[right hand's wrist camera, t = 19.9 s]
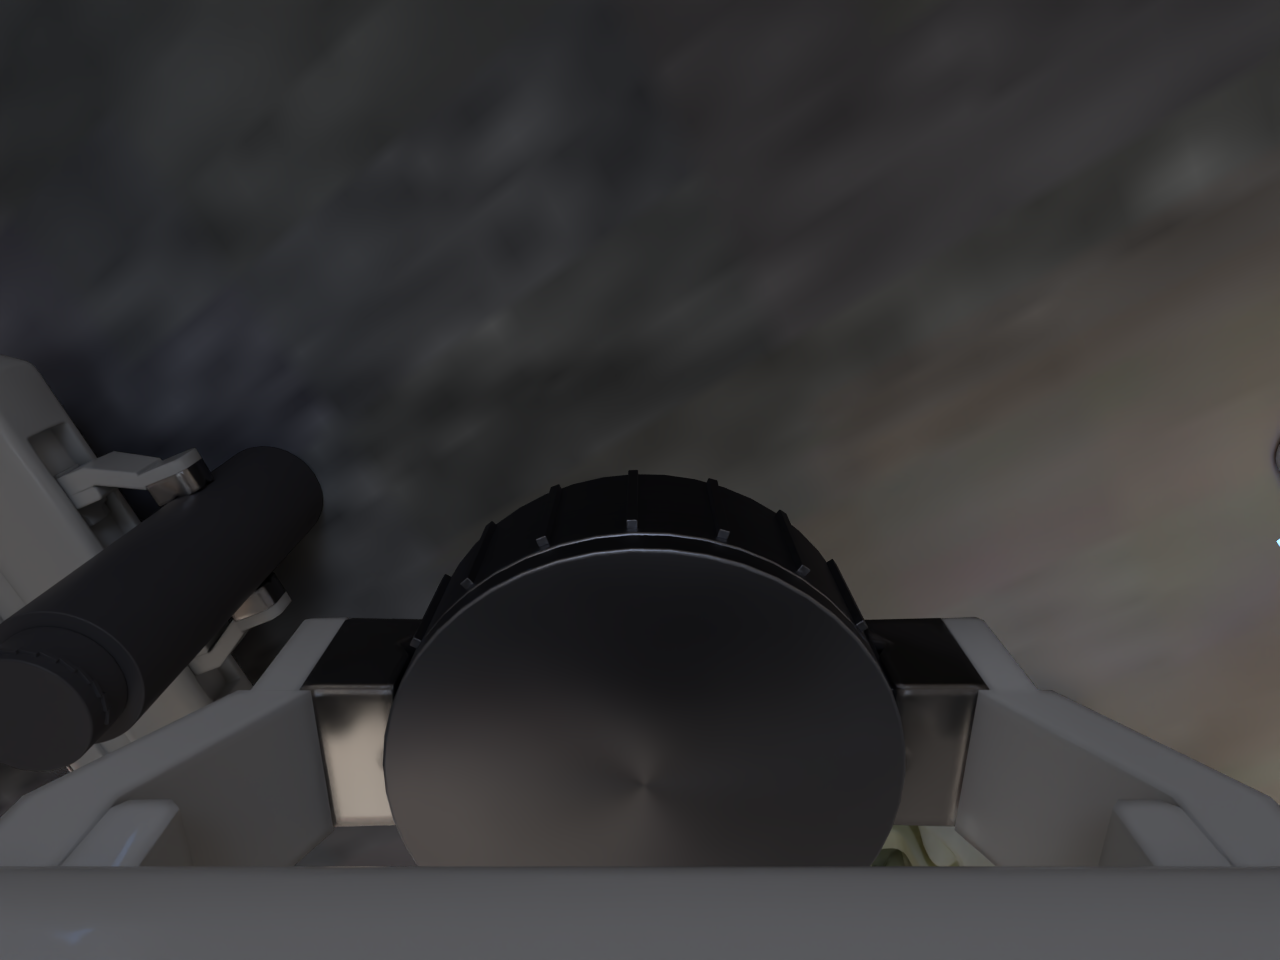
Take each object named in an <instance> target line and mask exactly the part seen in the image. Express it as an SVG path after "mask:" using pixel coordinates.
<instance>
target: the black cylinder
mask: <svg viewBox="0 0 1280 960" xmlns="http://www.w3.org/2000/svg"><path fill="white" fill-rule="evenodd" d="M211 474H212V475H213V477H214V479H213V480H212V481H210V482H208V483H206V484H205V486H204V487H202V488H201V489H199V490H197V491H195V492H194V493H191V494H189V495H187V496H183V497H181V496H179V497H177V498H176V499H175V500H173V501H171V502H169V503H168V504H166V505H165V506H164V507H162V508H161V509H159V510H158V511H157V512H155V513H154V514H152V515H151V516H150V517H148V518H147V519H145V520H144V521H143V522H141V523H140V524H138V525H137V526H136V527H134V528H133V529H132V530H130V531H129V532H127V533H126V534H125V535H123V536H122V537H120V538H119V539H118V540H116V541H115V542H113V543H112V544H111V545H109V546H108V547H106V548H105V549H104V550H102V551H101V552H99V553H98V554H97V555H95V556H94V557H92V558H91V559H90V560H88V561H87V562H85V563H84V564H83V565H81V566H80V567H78V568H77V569H76V570H74V571H73V572H72V573H70V574H69V575H67V576H66V577H65V578H63V579H62V580H60V581H59V582H58V583H56V584H55V585H53V586H52V587H51V588H49V589H48V590H46V591H45V592H44V593H42V594H41V595H39V596H38V597H37V598H35V599H34V600H32V601H31V602H30V603H28V604H27V605H25V606H24V607H23V608H21V609H20V610H19V611H17V612H16V613H14V614H13V615H12V616H10V617H9V618H7V619H6V620H5V621H3V622H2V623H1V624H0V762H1V763H3V764H5V765H8V766H11V767H14V768H18V769H22V770H28V771H52V770H57V769H61V768H64V767H66V766H69V765H71V764H73V763H75V762H76V761H77V760H79V759H80V758H81V757H82V756H83V755H84V754H85V753H86V752H87V751H88V750H89V749H90V748H91V747H92V746H93V745H94V744H98V743H103V742H106V741H109V740H112V739H115V738H117V737H119V736H121V735H122V734H124V733H125V732H127V731H128V730H129V729H130V728H131V727H132V726H133V725H134V724H135V723H136V722H137V721H138V720H139V719H140V718H141V717H142V715H143V714H144V713H145V712H146V711H147V710H148V709H149V708H150V707H151V705H152V704H153V703H154V702H155V701H156V700H157V699H158V698H159V697H160V695H161V694H162V693H163V692H164V691H165V690H166V689H167V688H168V687H169V685H170V684H171V683H172V682H173V681H174V680H175V679H176V678H177V677H178V676H179V674H180V673H181V672H182V671H183V670H184V669H185V668H186V667H187V666H188V664H189V663H190V662H191V661H192V660H193V659H194V658H195V657H196V656H197V654H198V653H199V652H200V651H201V650H202V649H203V648H204V647H205V646H206V644H207V643H208V642H209V641H210V640H211V639H212V638H213V637H214V636H215V635H216V633H217V632H218V631H219V630H220V629H221V628H222V627H223V626H224V625H225V623H226V622H227V621H228V620H229V619H230V618H231V617H232V616H233V615H234V613H235V612H236V611H237V610H238V609H239V608H240V607H241V606H242V605H243V603H244V602H245V601H246V600H247V599H248V598H249V597H250V596H251V595H252V593H253V592H254V591H255V590H256V589H257V588H258V587H259V586H260V585H261V584H262V582H263V581H264V580H265V579H266V578H267V577H268V576H269V575H270V574H271V572H272V571H273V570H274V569H275V568H276V567H277V566H278V565H279V564H280V562H281V561H282V560H283V559H284V558H285V557H286V556H287V555H288V554H289V552H290V551H291V550H292V549H293V548H294V547H295V546H296V545H297V544H298V543H299V541H300V540H301V539H302V538H303V537H304V536H305V535H306V534H307V533H308V531H309V530H310V529H311V528H312V527H313V526H314V525H315V523H316V522H317V520H318V518H319V516H320V513H321V510H322V492H321V488H320V485H319V482H318V480H317V478H316V477H315V475H314V473H313V472H312V471H311V469H310V468H309V467H308V466H307V465H306V464H305V463H304V462H303V461H302V460H300V459H299V458H297V457H296V456H295V455H293V454H291V453H289V452H287V451H284V450H281V449H278V448H273V447H253V448H249V449H246V450H243V451H241V452H239V453H238V454H236V455H235V456H233V457H232V458H231V459H229V460H228V461H226V462H225V463H224V464H222V465H221V466H219V467H218V468H217V469H215V470H214V471H212V472H211Z"/></svg>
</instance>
